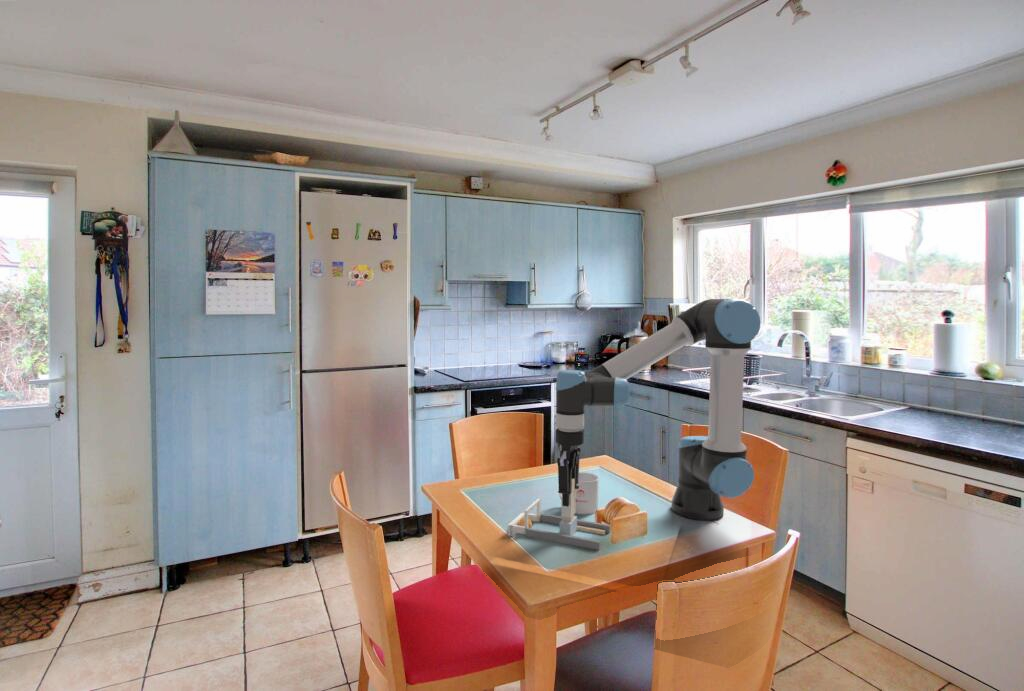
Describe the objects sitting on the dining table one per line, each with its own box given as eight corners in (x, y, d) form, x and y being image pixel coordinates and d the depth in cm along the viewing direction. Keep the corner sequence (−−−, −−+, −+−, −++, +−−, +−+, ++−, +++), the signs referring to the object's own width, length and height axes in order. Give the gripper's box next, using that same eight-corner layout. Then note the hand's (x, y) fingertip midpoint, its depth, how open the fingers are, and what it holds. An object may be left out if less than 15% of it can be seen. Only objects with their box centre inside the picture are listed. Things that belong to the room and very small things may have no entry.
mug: (599, 509, 168) (600, 473, 167) (596, 520, 160) (596, 482, 159) (561, 505, 171) (561, 470, 171) (556, 515, 163) (556, 479, 162)
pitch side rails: (610, 536, 148) (610, 524, 148) (599, 554, 138) (599, 542, 137) (541, 524, 156) (541, 513, 156) (525, 540, 146) (525, 529, 145)
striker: (576, 530, 149) (577, 476, 148) (570, 539, 144) (571, 483, 142) (566, 528, 150) (567, 475, 149) (559, 537, 145) (560, 482, 144)
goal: (540, 525, 156) (540, 498, 155) (527, 539, 146) (527, 510, 146) (522, 522, 158) (522, 495, 157) (508, 535, 149) (508, 507, 148)
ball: (531, 530, 153) (535, 518, 153) (526, 535, 150) (530, 523, 149) (520, 524, 155) (523, 513, 154) (515, 529, 151) (518, 518, 151)
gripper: (565, 421, 153) (564, 502, 155) (546, 433, 139) (545, 522, 141) (591, 424, 150) (589, 507, 152) (574, 436, 136) (573, 527, 138)
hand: (568, 514), depth 147 cm, fingers closed on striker, 2 cm apart
